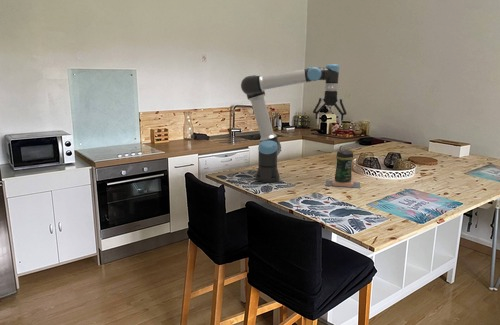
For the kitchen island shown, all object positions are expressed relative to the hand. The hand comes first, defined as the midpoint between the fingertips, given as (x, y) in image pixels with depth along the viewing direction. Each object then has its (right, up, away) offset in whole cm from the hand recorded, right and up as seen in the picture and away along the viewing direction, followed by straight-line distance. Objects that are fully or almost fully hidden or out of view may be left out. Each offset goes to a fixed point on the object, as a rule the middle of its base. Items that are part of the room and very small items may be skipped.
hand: (328, 125), depth 235 cm
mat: (+7, -36, -8) cm, 38 cm away
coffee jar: (+7, -34, -8) cm, 36 cm away
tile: (+8, -34, -2) cm, 35 cm away
